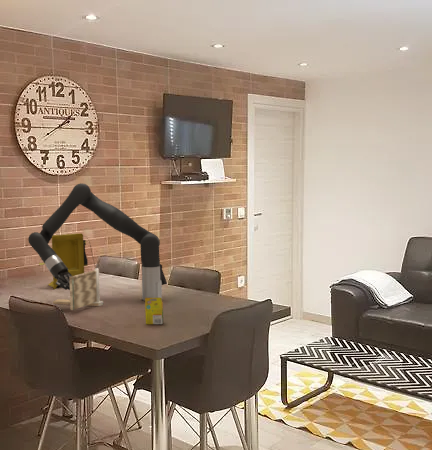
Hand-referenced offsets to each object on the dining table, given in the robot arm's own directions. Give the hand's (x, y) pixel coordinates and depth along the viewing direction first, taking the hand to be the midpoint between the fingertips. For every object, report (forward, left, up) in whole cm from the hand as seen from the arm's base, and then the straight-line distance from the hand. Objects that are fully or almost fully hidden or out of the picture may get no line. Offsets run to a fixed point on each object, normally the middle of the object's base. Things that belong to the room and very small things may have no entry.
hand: (76, 294), depth 278 cm
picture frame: (+6, -13, -8) cm, 17 cm away
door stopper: (-16, -67, -8) cm, 70 cm away
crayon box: (-43, +14, -8) cm, 46 cm away
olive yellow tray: (+34, -54, -8) cm, 65 cm away
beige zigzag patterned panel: (-2, -3, -6) cm, 7 cm away
